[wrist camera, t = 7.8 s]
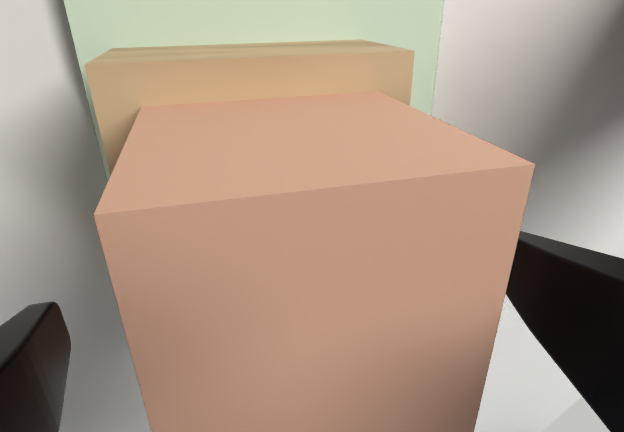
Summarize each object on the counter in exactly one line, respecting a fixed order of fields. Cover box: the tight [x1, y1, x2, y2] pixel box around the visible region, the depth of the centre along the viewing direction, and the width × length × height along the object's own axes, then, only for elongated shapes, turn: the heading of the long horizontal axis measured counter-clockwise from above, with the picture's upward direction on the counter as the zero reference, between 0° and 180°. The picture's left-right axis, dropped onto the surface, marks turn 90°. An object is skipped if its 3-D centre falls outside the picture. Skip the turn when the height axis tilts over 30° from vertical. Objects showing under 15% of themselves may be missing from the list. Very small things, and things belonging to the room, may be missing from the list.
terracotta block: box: [94, 91, 535, 432], centre depth 10 cm, size 6×6×6 cm
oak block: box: [84, 39, 415, 176], centre depth 14 cm, size 8×8×4 cm
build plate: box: [64, 0, 444, 182], centre depth 16 cm, size 16×12×1 cm
